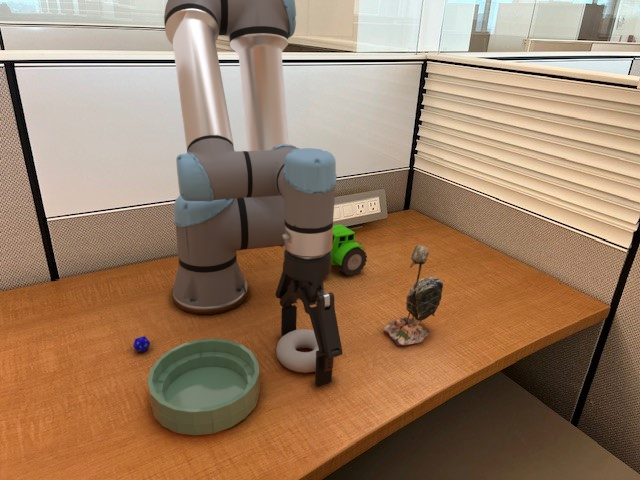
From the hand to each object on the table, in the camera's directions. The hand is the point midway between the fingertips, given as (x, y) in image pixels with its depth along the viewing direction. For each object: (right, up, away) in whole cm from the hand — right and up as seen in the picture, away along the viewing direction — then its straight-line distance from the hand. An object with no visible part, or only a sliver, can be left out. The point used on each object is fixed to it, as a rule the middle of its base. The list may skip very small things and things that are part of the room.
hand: (304, 358), depth 84 cm
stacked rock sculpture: (+20, +3, +8) cm, 22 cm away
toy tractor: (+5, +14, +31) cm, 34 cm away
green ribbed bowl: (-15, -4, -9) cm, 18 cm away
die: (-29, +1, +1) cm, 29 cm away
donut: (0, 0, 0) cm, 1 cm away
